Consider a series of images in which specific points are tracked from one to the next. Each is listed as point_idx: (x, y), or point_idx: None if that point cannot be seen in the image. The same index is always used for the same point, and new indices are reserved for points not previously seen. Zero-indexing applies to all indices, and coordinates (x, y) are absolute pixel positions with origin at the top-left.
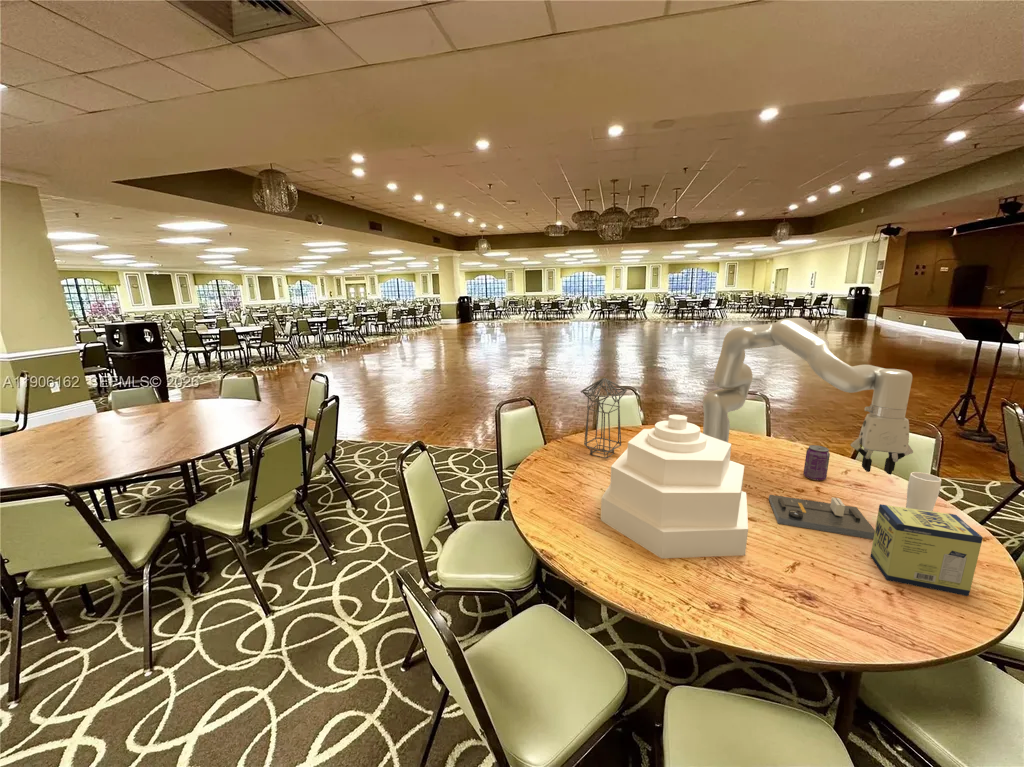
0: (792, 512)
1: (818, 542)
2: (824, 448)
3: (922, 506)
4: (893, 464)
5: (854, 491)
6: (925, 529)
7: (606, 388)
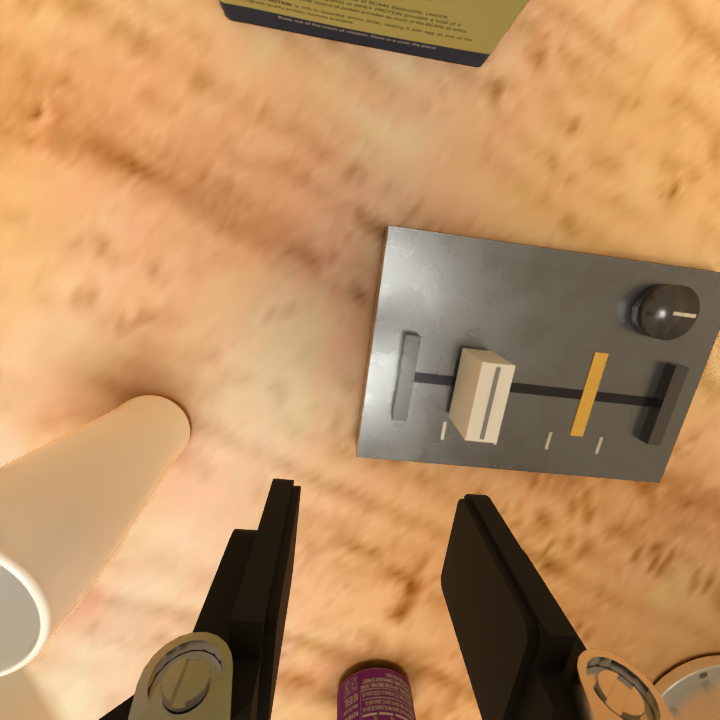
0: (690, 307)
1: (631, 144)
2: None
3: (110, 430)
4: (225, 600)
5: None
6: None
7: None
